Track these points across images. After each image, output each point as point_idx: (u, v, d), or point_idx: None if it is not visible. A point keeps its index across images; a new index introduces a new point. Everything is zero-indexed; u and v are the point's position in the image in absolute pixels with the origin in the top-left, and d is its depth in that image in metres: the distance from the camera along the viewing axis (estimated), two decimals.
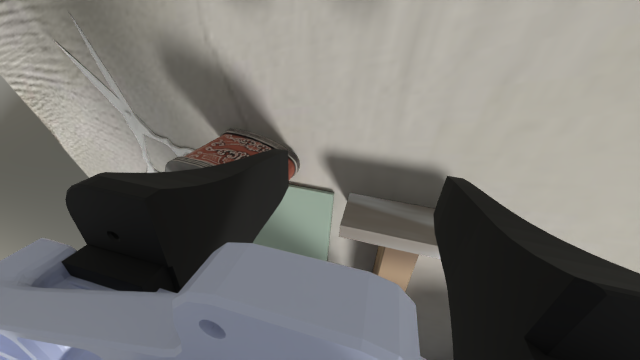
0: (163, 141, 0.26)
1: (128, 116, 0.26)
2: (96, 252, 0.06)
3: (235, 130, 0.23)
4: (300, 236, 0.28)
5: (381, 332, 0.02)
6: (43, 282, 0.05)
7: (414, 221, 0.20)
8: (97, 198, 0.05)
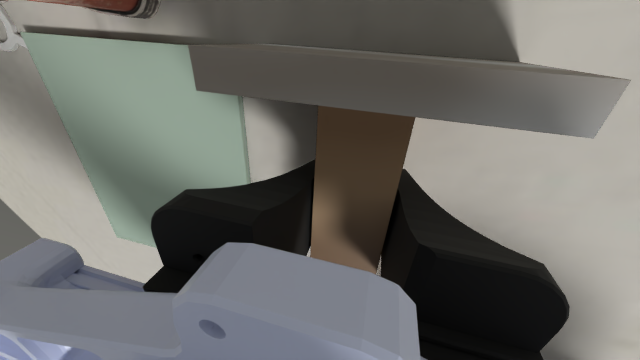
0: None
1: None
2: (176, 275, 0.06)
3: None
4: (197, 163, 0.15)
5: (381, 332, 0.02)
6: (43, 282, 0.05)
7: (404, 56, 0.08)
8: (192, 221, 0.05)
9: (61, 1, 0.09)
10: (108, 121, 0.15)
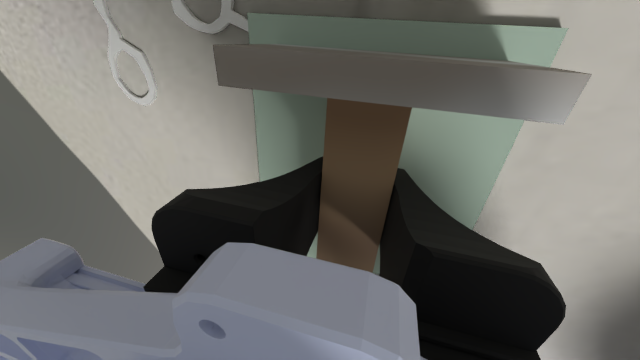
0: None
1: None
2: (177, 276, 0.06)
3: None
4: (429, 166, 0.13)
5: (381, 332, 0.02)
6: (43, 282, 0.05)
7: (402, 55, 0.09)
8: (193, 221, 0.05)
9: None
10: (323, 117, 0.13)
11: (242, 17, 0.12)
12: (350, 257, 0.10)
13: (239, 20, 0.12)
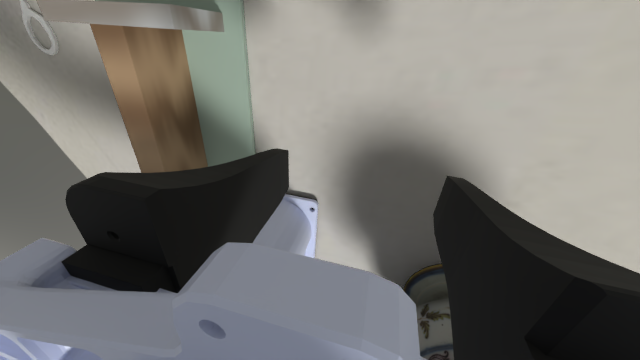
0: None
1: None
2: (96, 252, 0.06)
3: None
4: (213, 84, 0.21)
5: (381, 332, 0.02)
6: (43, 282, 0.05)
7: None
8: (97, 198, 0.05)
9: None
10: None
11: None
12: (140, 125, 0.18)
13: None
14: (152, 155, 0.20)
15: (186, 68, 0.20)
